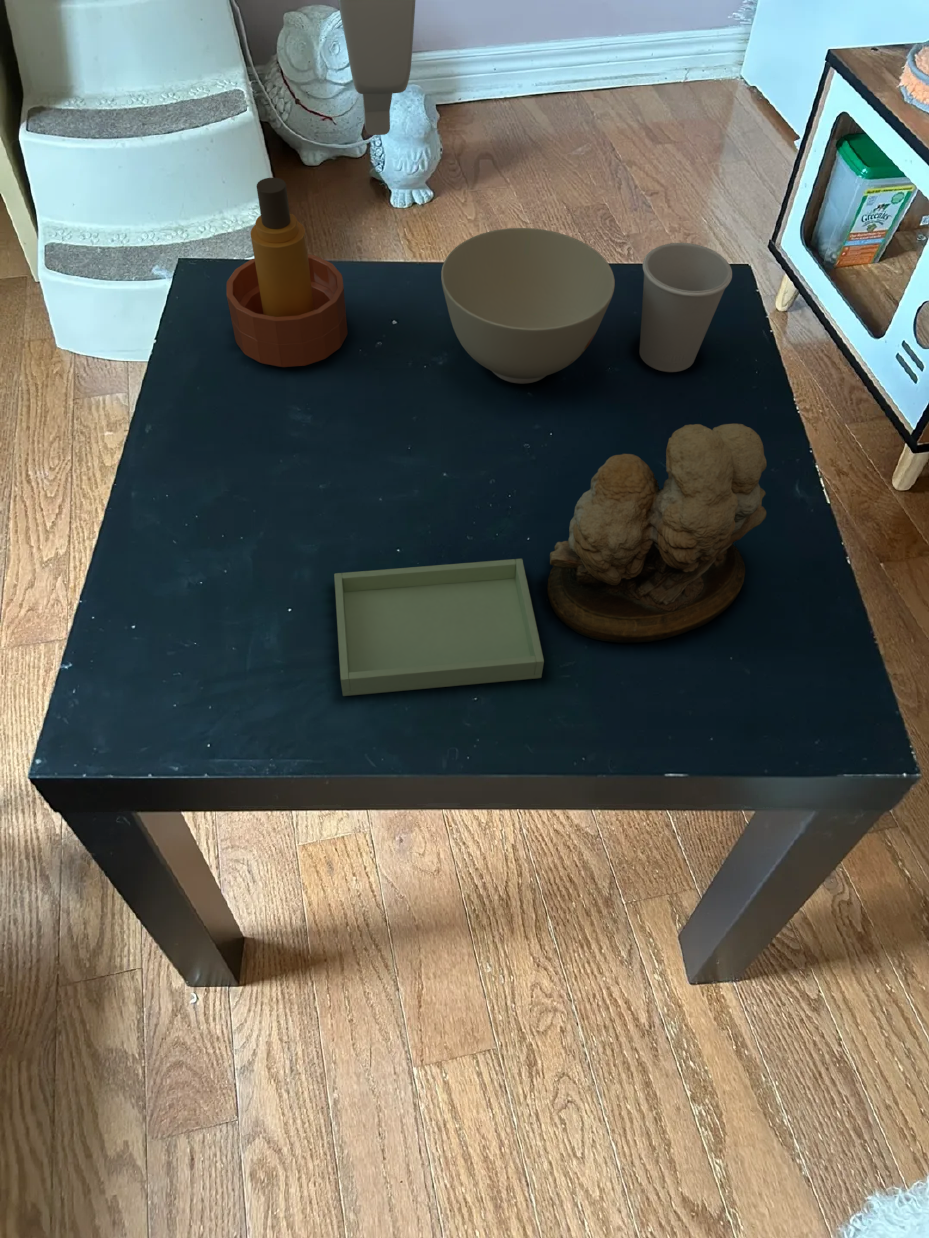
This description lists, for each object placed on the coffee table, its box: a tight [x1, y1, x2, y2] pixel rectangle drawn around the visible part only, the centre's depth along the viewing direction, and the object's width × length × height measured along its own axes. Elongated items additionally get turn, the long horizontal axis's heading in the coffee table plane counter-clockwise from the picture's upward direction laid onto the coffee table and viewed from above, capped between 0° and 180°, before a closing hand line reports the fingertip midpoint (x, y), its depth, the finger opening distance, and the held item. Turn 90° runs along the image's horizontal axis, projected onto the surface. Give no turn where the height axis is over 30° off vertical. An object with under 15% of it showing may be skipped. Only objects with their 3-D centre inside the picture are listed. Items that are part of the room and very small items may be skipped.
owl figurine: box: [546, 423, 768, 644], centre depth 73 cm, size 18×12×17 cm, turn 113°
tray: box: [333, 558, 545, 697], centre depth 75 cm, size 15×10×2 cm
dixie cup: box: [638, 242, 733, 373], centre depth 94 cm, size 8×8×10 cm
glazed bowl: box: [226, 253, 348, 368], centre depth 96 cm, size 11×11×6 cm
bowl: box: [440, 227, 616, 385], centre depth 93 cm, size 16×16×10 cm
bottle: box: [250, 177, 314, 317], centre depth 92 cm, size 5×5×16 cm
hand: (370, 100), depth 74 cm, fingers open, 8 cm apart
